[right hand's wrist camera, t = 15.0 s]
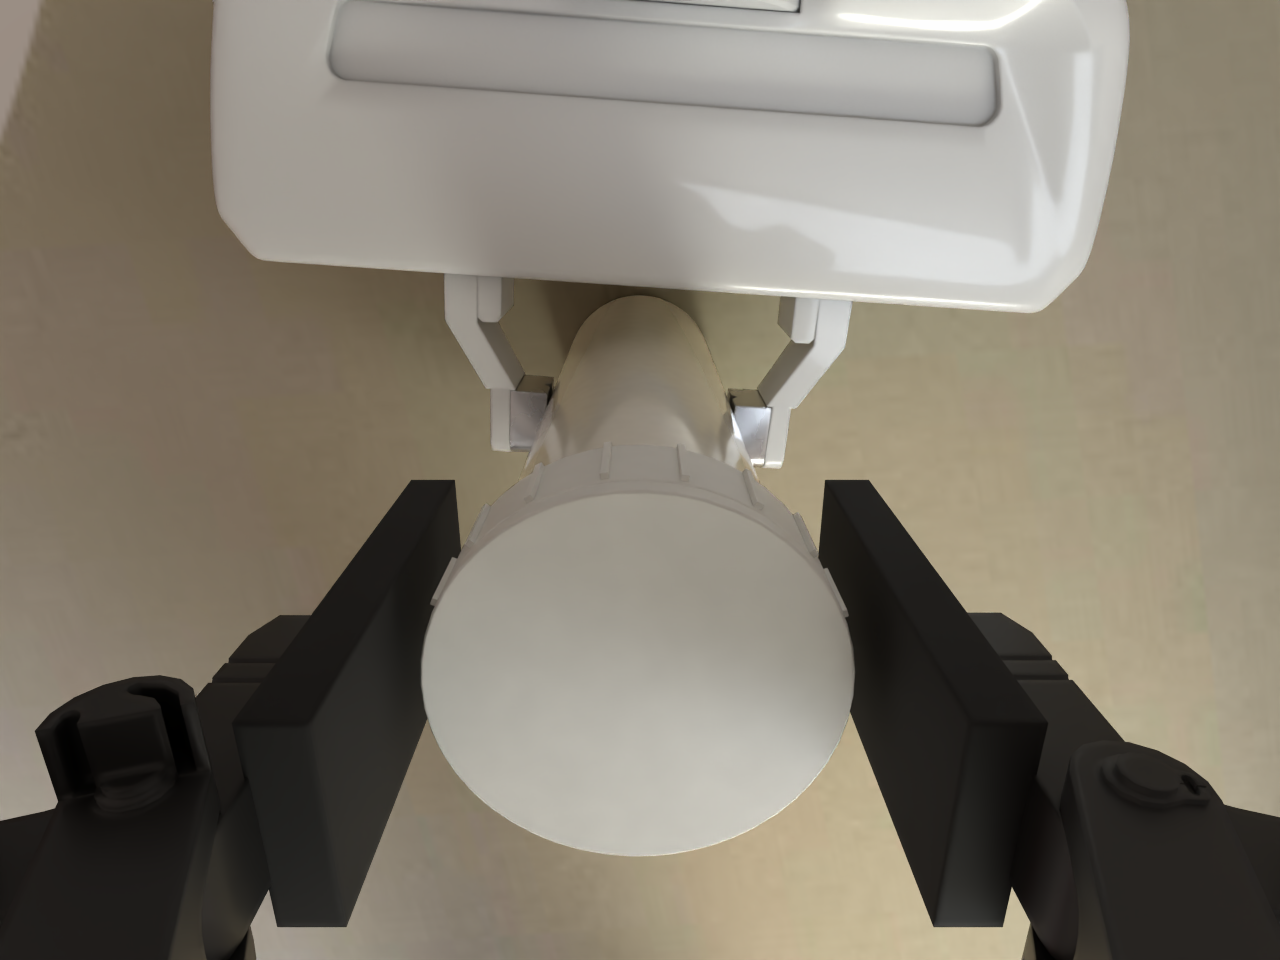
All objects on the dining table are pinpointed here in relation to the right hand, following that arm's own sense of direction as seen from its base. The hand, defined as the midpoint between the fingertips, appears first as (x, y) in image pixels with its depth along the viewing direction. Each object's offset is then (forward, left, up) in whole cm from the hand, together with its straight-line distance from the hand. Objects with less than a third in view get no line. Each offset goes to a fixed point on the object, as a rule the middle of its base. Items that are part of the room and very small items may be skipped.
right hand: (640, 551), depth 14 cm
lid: (0, 0, +4) cm, 4 cm away
